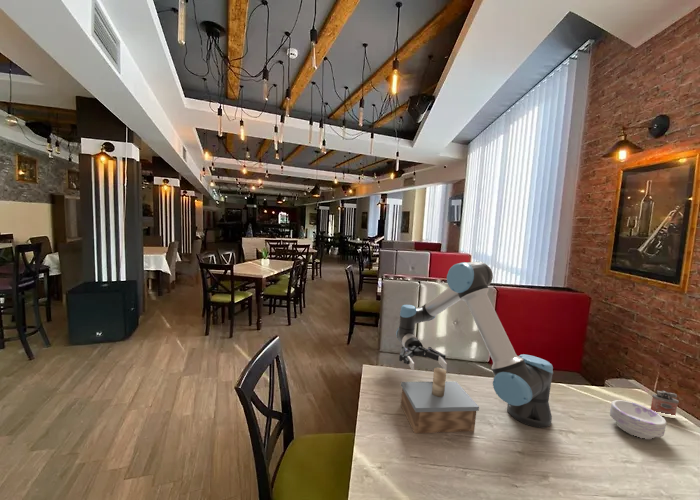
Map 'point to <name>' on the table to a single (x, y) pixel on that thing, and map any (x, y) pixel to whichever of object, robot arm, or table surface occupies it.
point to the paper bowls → (637, 419)
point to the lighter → (664, 402)
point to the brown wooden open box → (438, 419)
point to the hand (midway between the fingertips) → (429, 366)
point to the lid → (438, 395)
